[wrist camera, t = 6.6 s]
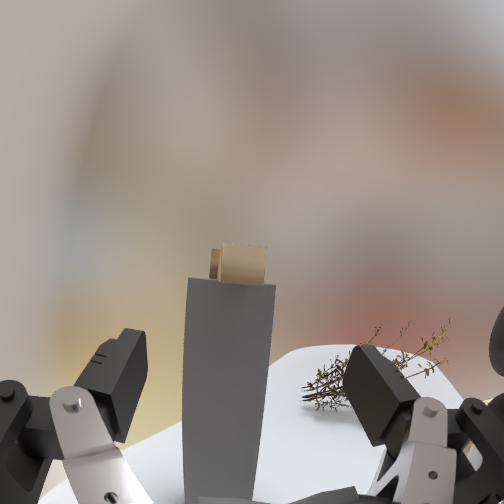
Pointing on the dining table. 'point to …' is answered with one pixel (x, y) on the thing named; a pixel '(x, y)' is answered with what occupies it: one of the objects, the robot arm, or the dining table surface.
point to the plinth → (224, 386)
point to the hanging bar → (238, 264)
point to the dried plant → (343, 375)
